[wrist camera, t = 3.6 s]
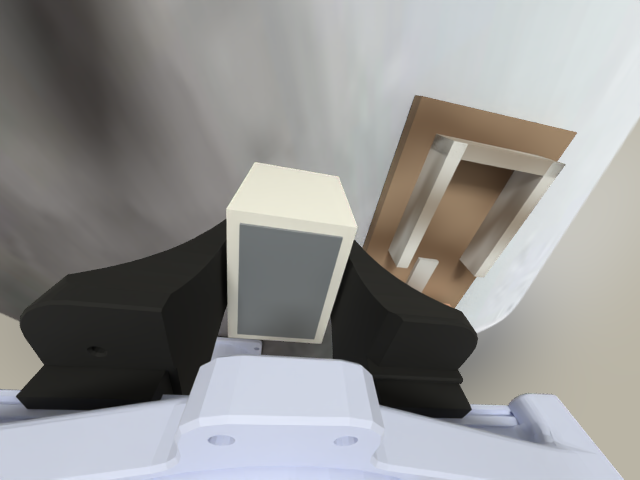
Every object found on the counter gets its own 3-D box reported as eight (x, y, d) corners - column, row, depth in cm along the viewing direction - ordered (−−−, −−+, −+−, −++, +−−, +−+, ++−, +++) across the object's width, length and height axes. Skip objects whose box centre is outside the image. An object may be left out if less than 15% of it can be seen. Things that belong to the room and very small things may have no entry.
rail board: (428, 331, 26) (441, 358, 23) (336, 324, 24) (340, 352, 22) (562, 129, 15) (613, 139, 13) (415, 95, 14) (439, 98, 11)
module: (316, 270, 15) (321, 345, 11) (249, 263, 14) (227, 339, 10) (338, 176, 12) (358, 229, 8) (254, 162, 11) (225, 210, 7)
